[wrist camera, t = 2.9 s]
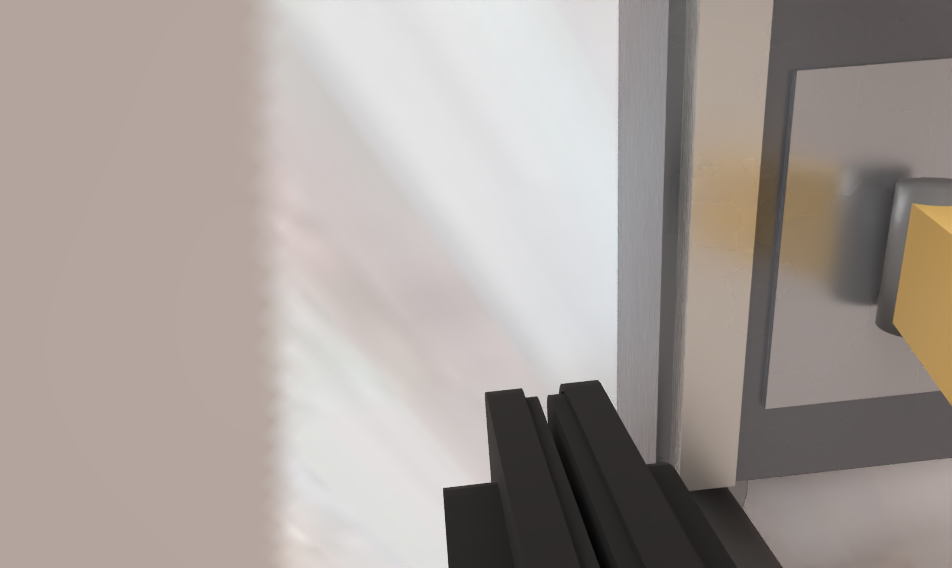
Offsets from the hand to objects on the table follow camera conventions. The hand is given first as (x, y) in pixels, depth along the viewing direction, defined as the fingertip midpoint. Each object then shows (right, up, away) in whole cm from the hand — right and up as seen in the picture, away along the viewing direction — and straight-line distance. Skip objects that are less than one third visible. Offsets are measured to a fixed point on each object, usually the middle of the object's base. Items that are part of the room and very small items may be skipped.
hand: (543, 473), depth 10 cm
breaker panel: (+11, +5, +11) cm, 17 cm away
